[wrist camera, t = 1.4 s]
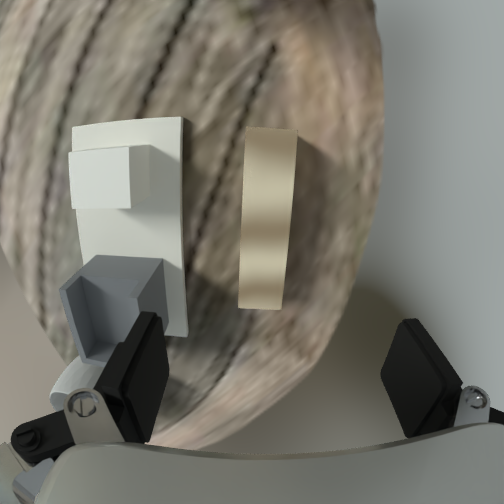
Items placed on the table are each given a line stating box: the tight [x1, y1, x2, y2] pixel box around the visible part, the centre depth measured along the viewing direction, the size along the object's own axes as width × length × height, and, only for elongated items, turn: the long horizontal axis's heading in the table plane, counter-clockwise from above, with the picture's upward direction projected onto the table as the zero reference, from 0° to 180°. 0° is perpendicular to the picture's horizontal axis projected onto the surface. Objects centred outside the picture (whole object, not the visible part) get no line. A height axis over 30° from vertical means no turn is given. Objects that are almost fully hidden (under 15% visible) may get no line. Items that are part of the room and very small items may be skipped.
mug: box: [50, 355, 104, 412], centre depth 33 cm, size 13×9×10 cm
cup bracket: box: [59, 117, 189, 367], centre depth 26 cm, size 24×12×9 cm, turn 177°
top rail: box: [238, 127, 298, 310], centre depth 27 cm, size 16×4×5 cm, turn 177°
